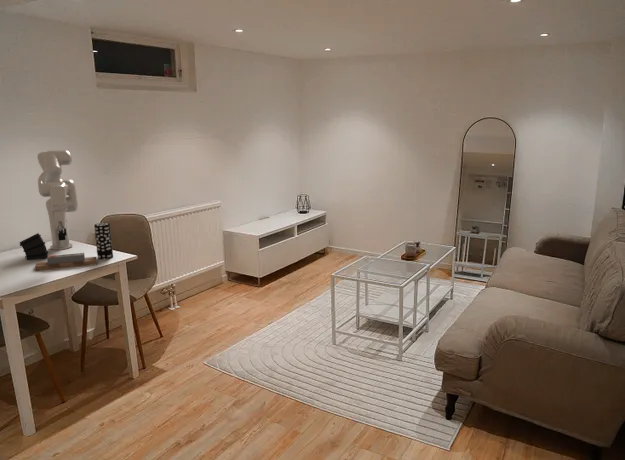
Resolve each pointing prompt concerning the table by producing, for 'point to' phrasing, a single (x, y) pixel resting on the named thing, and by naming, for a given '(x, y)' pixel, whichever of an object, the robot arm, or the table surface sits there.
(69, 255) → the grey control box
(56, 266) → the rail
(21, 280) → the table surface
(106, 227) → the spotted tube
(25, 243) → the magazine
